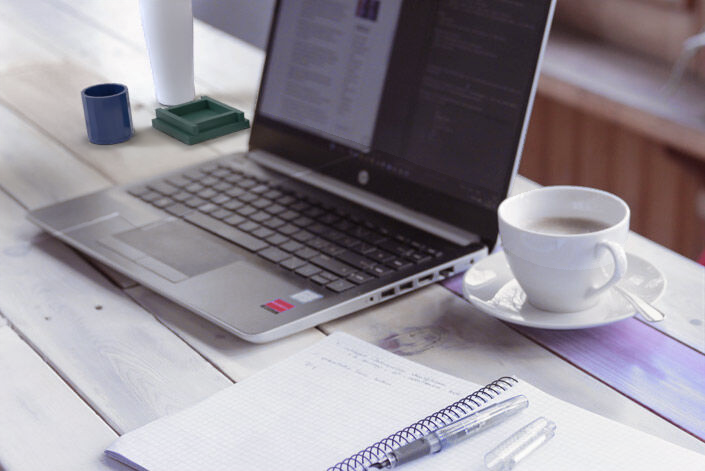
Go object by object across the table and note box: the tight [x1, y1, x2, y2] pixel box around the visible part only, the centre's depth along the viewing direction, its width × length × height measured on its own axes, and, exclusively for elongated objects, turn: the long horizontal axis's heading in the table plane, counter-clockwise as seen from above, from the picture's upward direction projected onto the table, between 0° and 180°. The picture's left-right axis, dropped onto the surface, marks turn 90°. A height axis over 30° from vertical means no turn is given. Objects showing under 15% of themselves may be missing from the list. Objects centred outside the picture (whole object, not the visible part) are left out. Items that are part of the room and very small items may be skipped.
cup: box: [80, 82, 135, 146], centre depth 117 cm, size 6×6×6 cm
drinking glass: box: [138, 0, 196, 107], centre depth 127 cm, size 7×7×15 cm
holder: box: [151, 95, 251, 146], centre depth 121 cm, size 9×9×2 cm
